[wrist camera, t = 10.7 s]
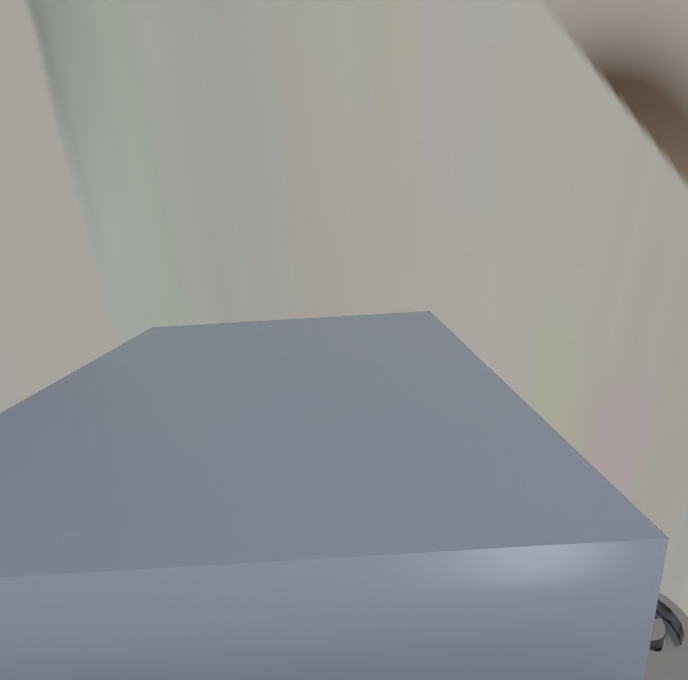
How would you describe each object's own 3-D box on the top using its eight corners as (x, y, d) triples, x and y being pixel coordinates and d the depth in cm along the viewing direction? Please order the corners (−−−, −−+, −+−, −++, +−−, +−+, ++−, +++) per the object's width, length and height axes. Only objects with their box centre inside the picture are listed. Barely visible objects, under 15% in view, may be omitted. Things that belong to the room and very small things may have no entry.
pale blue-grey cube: (152, 327, 12) (-324, 595, 3) (429, 311, 12) (669, 537, 3) (193, 557, 14) (-34, 1087, 5) (430, 543, 14) (579, 1052, 5)
